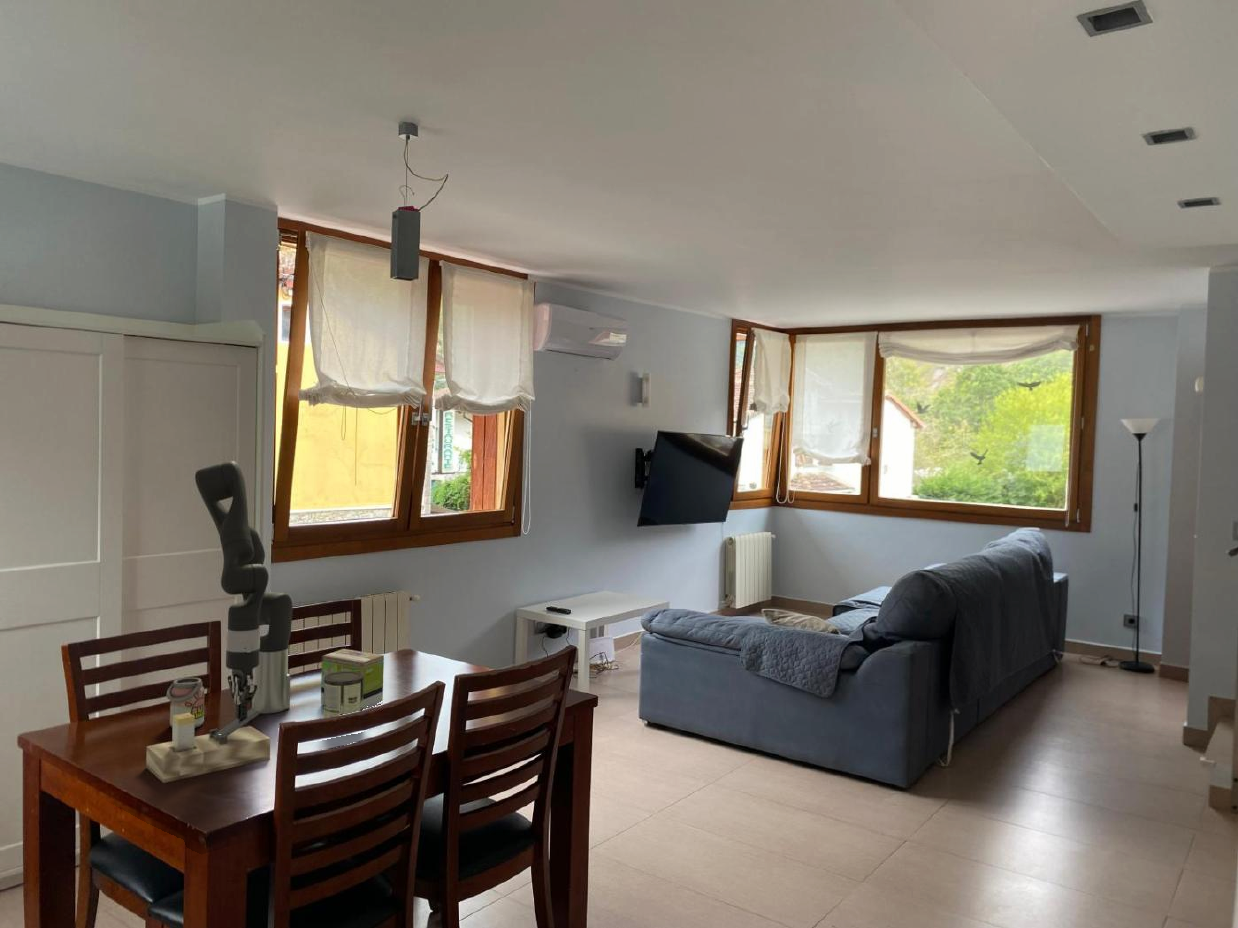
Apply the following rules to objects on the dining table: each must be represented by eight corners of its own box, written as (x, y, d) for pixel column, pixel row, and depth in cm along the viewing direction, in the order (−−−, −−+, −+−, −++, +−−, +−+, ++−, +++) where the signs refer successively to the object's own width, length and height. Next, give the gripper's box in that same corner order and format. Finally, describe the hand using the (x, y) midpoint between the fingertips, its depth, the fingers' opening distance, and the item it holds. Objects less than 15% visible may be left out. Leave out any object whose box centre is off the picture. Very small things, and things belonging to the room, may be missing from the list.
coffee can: (338, 720, 249) (339, 669, 248) (370, 725, 245) (371, 673, 245) (314, 731, 239) (315, 678, 238) (347, 736, 236) (348, 683, 235)
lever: (254, 710, 223) (251, 706, 223) (260, 714, 220) (258, 710, 220) (213, 738, 217) (211, 733, 216) (220, 742, 214) (217, 738, 213)
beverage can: (187, 733, 235) (188, 687, 234) (159, 730, 236) (160, 684, 236) (210, 722, 244) (211, 678, 243) (183, 719, 245) (184, 675, 245)
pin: (188, 761, 213) (189, 712, 212) (193, 765, 210) (194, 716, 210) (171, 764, 210) (172, 715, 210) (177, 769, 208) (178, 719, 207)
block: (249, 745, 227) (250, 718, 227) (269, 758, 218) (270, 730, 218) (146, 767, 210) (146, 738, 210) (163, 782, 201) (164, 752, 201)
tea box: (319, 705, 261) (320, 654, 261) (342, 696, 271) (343, 647, 270) (362, 713, 256) (363, 661, 255) (383, 703, 265) (385, 653, 265)
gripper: (216, 644, 221) (215, 714, 221) (237, 654, 211) (236, 728, 211) (247, 640, 226) (246, 709, 226) (269, 650, 216) (267, 722, 217)
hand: (241, 718), depth 219 cm, fingers closed
